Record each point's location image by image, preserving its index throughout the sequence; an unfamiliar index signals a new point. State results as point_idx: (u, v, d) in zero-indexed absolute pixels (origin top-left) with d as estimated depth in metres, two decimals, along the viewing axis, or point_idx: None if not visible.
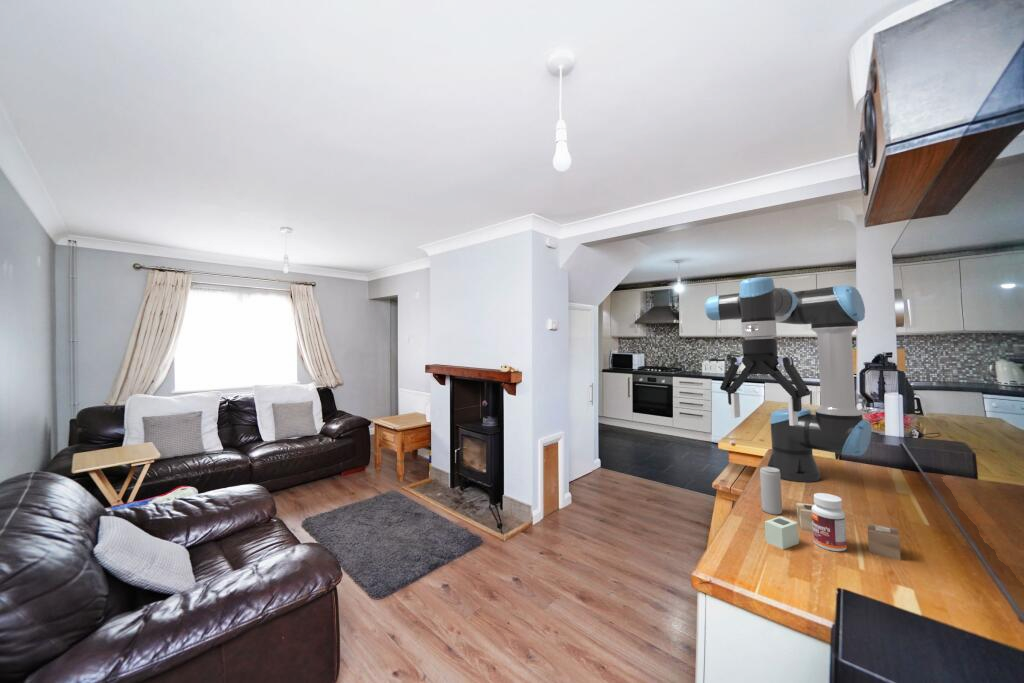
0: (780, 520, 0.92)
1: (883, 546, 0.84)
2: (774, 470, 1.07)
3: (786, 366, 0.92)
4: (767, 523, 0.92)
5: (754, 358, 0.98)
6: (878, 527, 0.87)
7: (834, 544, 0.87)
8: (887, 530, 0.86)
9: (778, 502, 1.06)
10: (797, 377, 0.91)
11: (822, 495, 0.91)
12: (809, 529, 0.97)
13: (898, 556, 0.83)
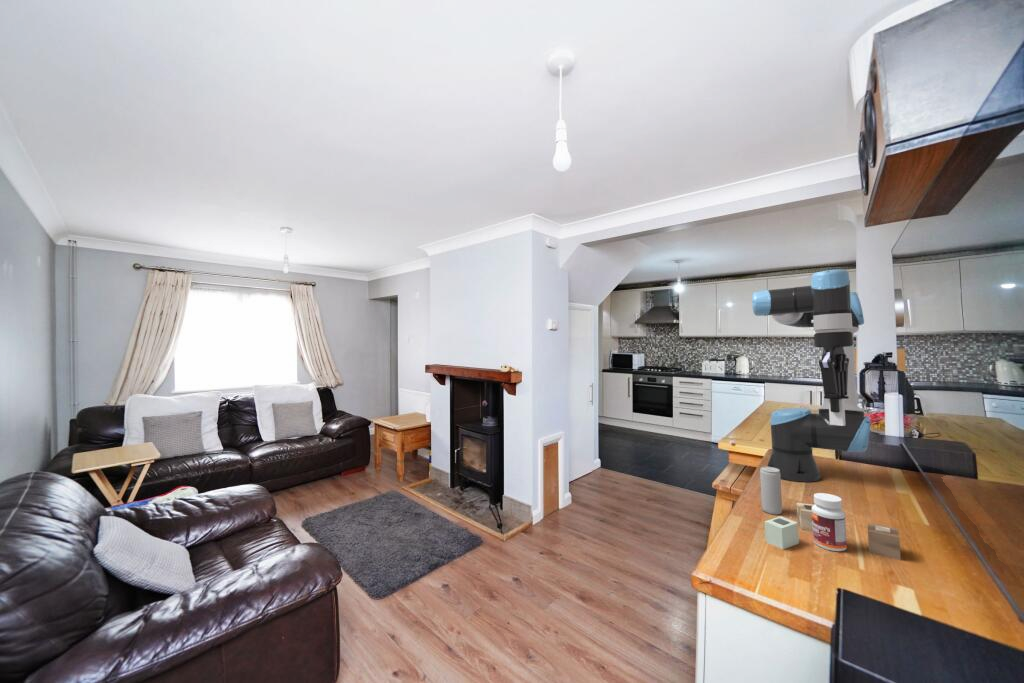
0: (780, 520, 0.92)
1: (883, 546, 0.84)
2: (774, 470, 1.07)
3: None
4: (767, 523, 0.92)
5: None
6: (878, 527, 0.87)
7: (834, 544, 0.87)
8: (887, 530, 0.86)
9: (778, 502, 1.06)
10: (825, 380, 0.95)
11: (822, 495, 0.91)
12: (809, 529, 0.97)
13: (898, 556, 0.83)
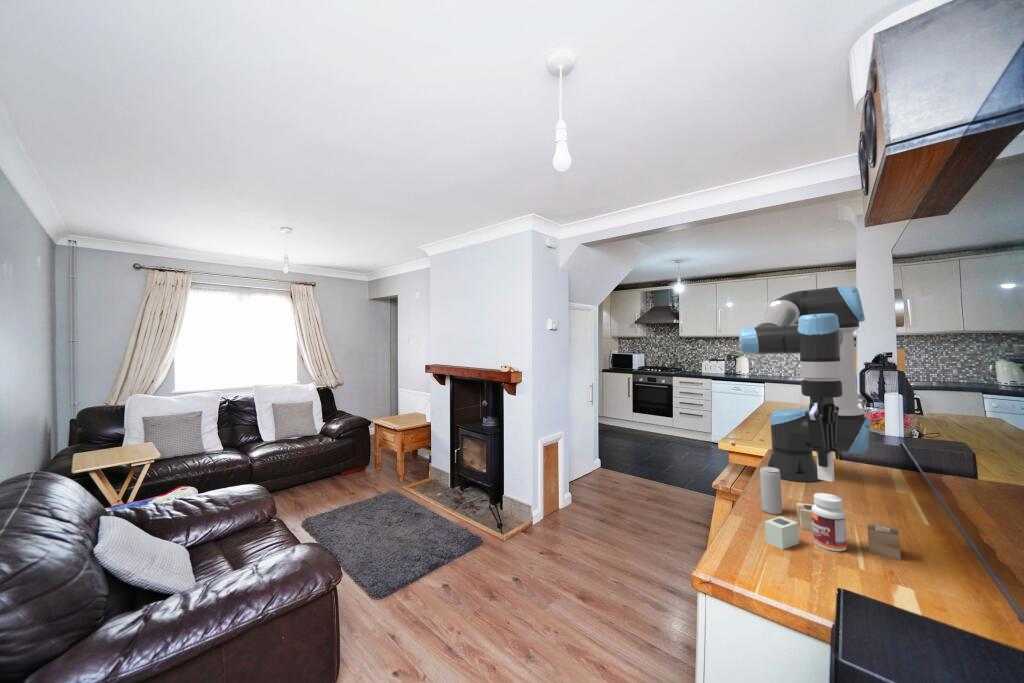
0: (780, 520, 0.92)
1: (883, 546, 0.84)
2: (774, 470, 1.07)
3: None
4: (767, 523, 0.92)
5: None
6: (878, 527, 0.87)
7: (834, 544, 0.87)
8: (886, 530, 0.86)
9: (778, 502, 1.06)
10: (812, 433, 0.88)
11: (822, 495, 0.91)
12: (809, 529, 0.97)
13: (898, 556, 0.83)
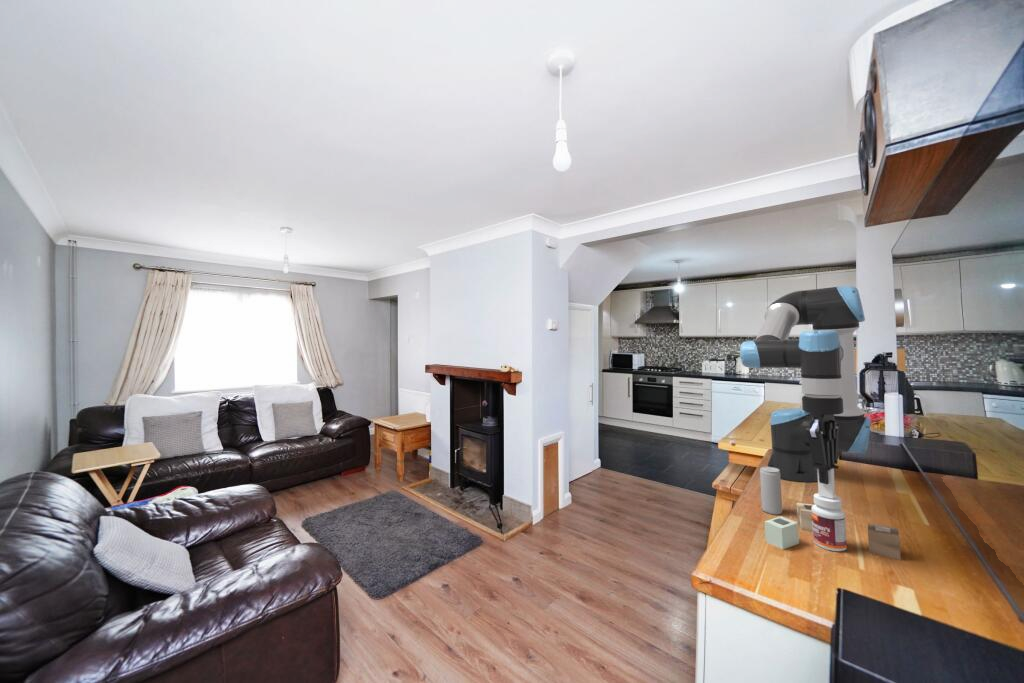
0: (780, 520, 0.92)
1: (883, 546, 0.84)
2: (774, 470, 1.07)
3: None
4: (767, 523, 0.92)
5: None
6: (878, 527, 0.87)
7: (834, 544, 0.87)
8: (887, 530, 0.86)
9: (778, 502, 1.06)
10: (813, 450, 0.88)
11: None
12: (809, 529, 0.97)
13: (898, 556, 0.83)
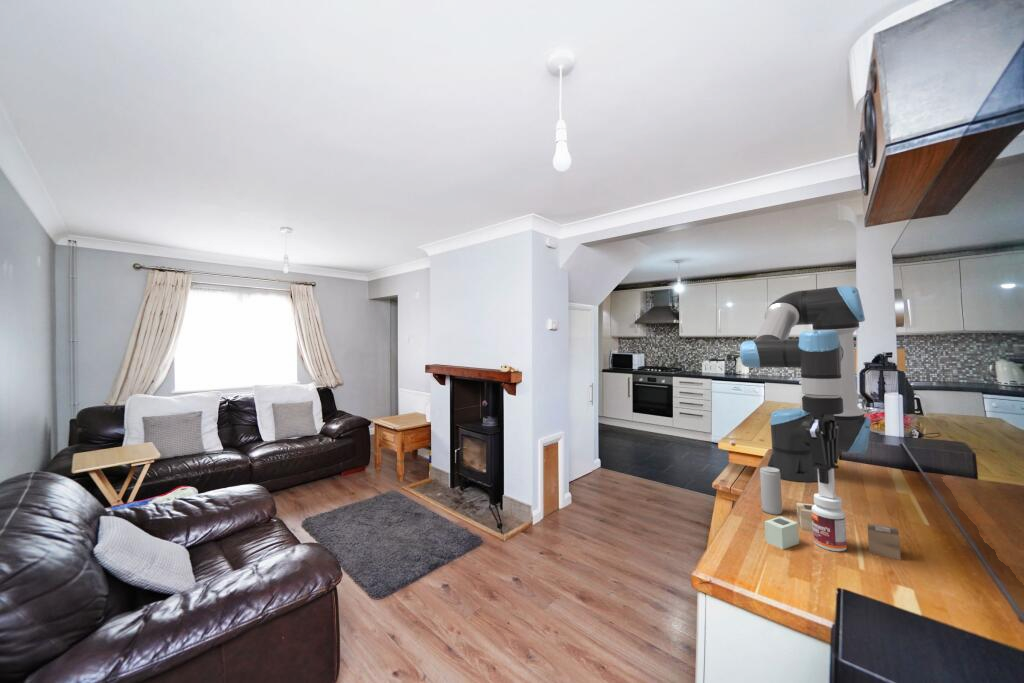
0: (780, 520, 0.92)
1: (883, 546, 0.84)
2: (774, 470, 1.07)
3: None
4: (767, 523, 0.92)
5: None
6: (878, 527, 0.87)
7: (834, 544, 0.87)
8: (886, 530, 0.86)
9: (778, 502, 1.06)
10: (813, 450, 0.88)
11: None
12: (809, 529, 0.97)
13: (898, 556, 0.83)
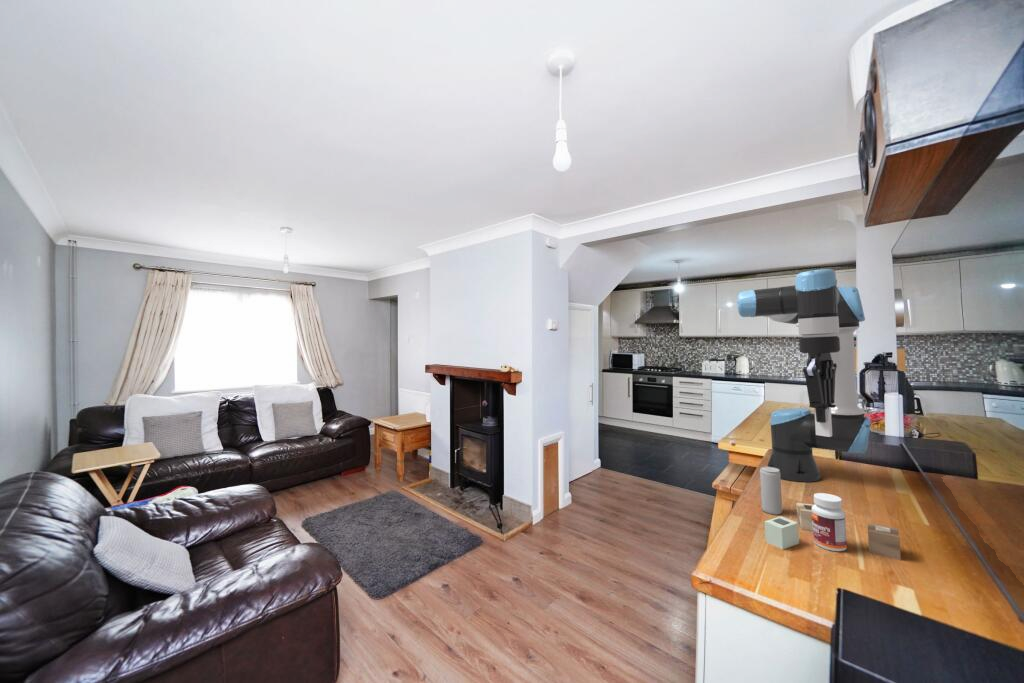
0: (780, 520, 0.92)
1: (883, 546, 0.84)
2: (774, 470, 1.07)
3: None
4: (767, 523, 0.92)
5: None
6: (878, 527, 0.87)
7: (834, 544, 0.87)
8: (887, 530, 0.86)
9: (778, 502, 1.06)
10: (810, 389, 0.88)
11: (822, 495, 0.91)
12: (809, 529, 0.97)
13: (898, 556, 0.83)
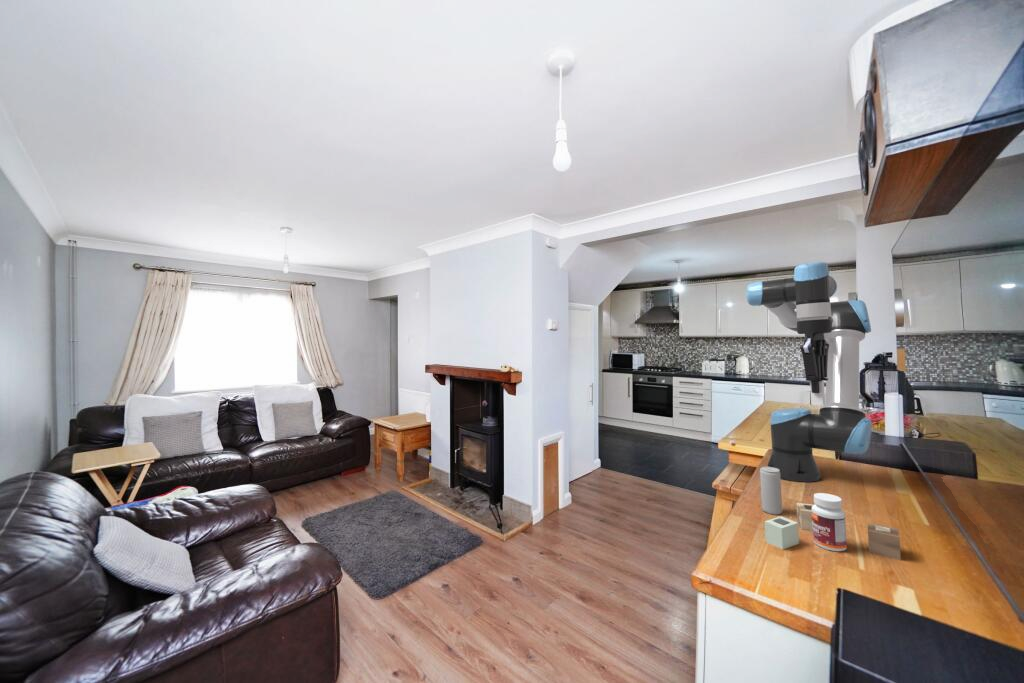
0: (780, 520, 0.92)
1: (883, 546, 0.84)
2: (774, 470, 1.07)
3: None
4: (767, 523, 0.92)
5: None
6: (878, 527, 0.87)
7: (834, 544, 0.87)
8: (887, 530, 0.86)
9: (778, 502, 1.06)
10: (806, 364, 1.04)
11: (822, 495, 0.91)
12: (809, 529, 0.97)
13: (898, 556, 0.83)
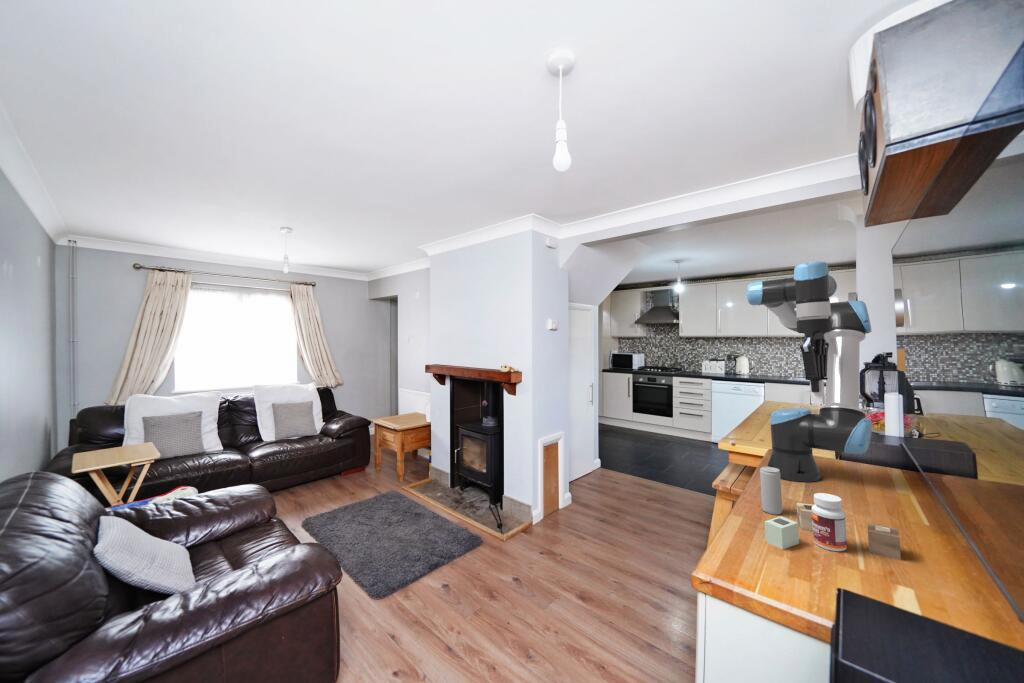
0: (780, 520, 0.92)
1: (883, 546, 0.84)
2: (774, 470, 1.07)
3: None
4: (767, 523, 0.92)
5: None
6: (878, 527, 0.87)
7: (834, 544, 0.87)
8: (887, 530, 0.86)
9: (778, 502, 1.06)
10: (806, 363, 1.04)
11: (822, 495, 0.91)
12: (809, 529, 0.97)
13: (898, 556, 0.83)
